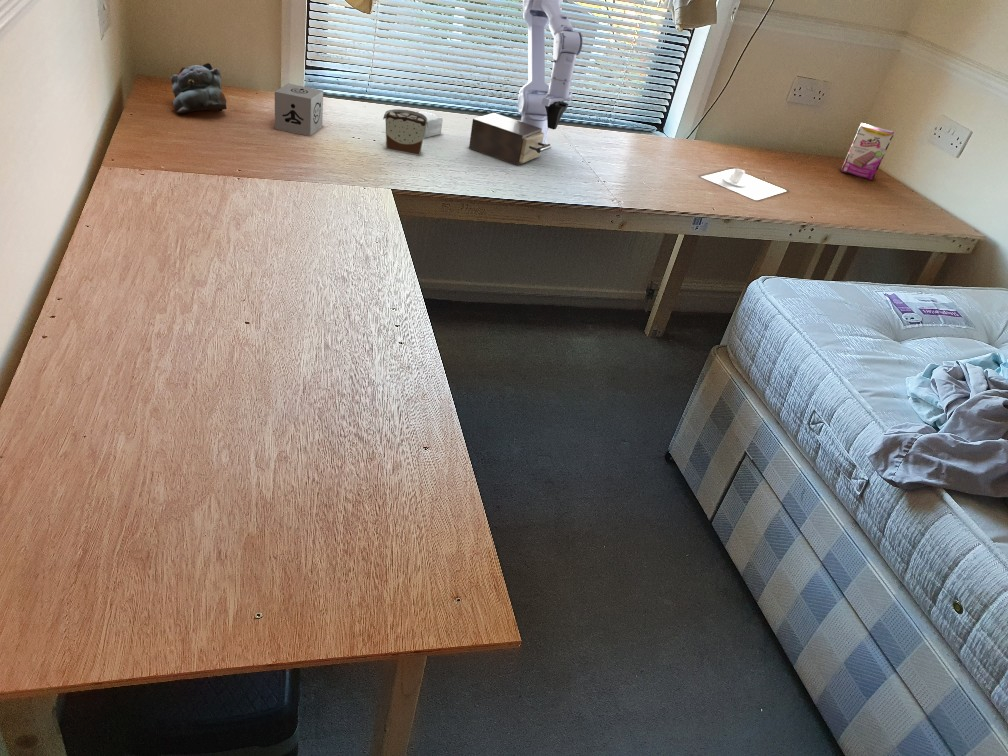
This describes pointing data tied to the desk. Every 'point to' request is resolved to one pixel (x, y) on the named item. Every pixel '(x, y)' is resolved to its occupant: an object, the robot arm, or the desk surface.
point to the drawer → (532, 147)
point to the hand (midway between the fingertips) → (551, 128)
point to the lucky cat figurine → (198, 89)
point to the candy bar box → (867, 151)
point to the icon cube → (298, 109)
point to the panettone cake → (405, 130)
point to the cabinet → (500, 136)
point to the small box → (432, 124)
